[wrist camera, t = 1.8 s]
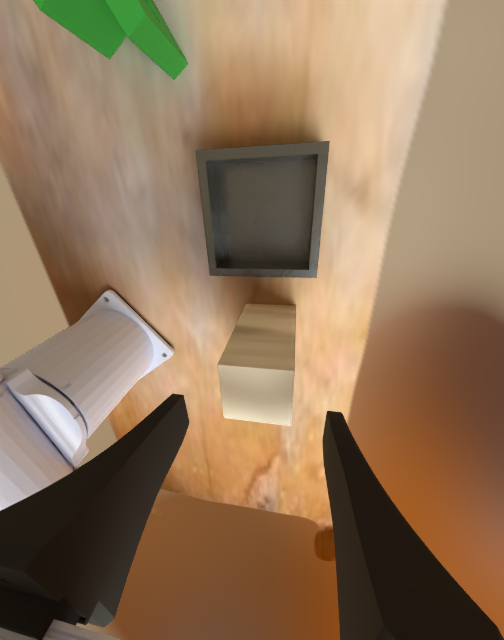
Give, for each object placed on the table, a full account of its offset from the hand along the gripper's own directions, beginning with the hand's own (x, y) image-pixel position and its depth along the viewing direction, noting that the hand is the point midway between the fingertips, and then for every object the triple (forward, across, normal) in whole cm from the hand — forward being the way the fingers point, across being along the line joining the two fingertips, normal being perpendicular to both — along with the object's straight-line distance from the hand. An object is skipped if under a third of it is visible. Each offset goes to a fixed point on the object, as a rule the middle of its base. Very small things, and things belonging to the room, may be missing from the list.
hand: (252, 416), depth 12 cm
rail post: (+9, 0, 0) cm, 9 cm away
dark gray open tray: (+9, 0, -9) cm, 13 cm away
